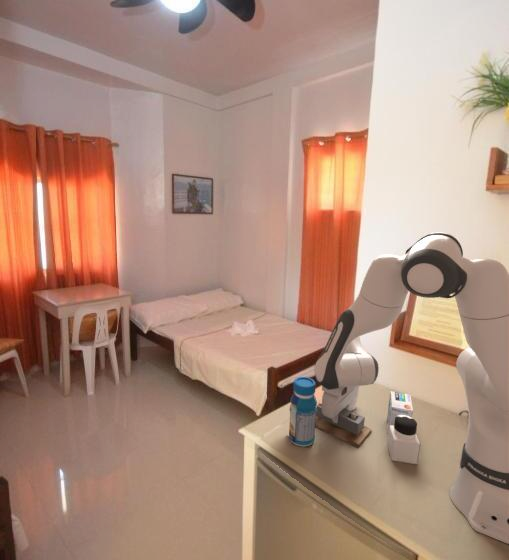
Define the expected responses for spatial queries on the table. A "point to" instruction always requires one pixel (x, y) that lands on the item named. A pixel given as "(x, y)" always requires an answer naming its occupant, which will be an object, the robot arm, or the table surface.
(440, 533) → the table surface
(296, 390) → the beverage bottle
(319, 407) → the grey block with holes
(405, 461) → the medicine bottle
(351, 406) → the white cup
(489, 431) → the robot arm
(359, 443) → the board
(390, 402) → the light bulb box
